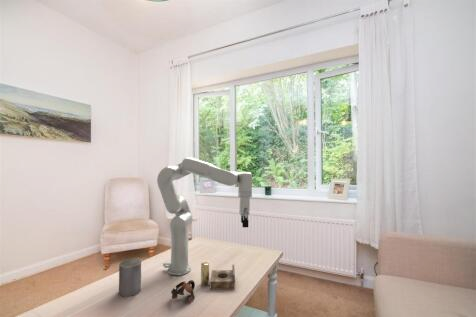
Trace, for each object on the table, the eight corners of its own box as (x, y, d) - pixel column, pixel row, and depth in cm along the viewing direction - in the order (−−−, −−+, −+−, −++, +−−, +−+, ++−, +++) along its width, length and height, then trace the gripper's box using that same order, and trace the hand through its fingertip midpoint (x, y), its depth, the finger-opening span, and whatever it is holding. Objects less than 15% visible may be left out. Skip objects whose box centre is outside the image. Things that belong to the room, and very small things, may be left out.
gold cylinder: (200, 285, 117) (200, 265, 117) (201, 281, 121) (201, 262, 121) (208, 285, 117) (208, 265, 118) (209, 281, 121) (209, 262, 121)
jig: (210, 288, 114) (210, 275, 114) (211, 276, 126) (212, 264, 126) (234, 288, 115) (234, 275, 115) (234, 276, 127) (234, 264, 127)
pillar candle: (119, 288, 115) (119, 257, 115) (141, 284, 118) (141, 254, 118) (117, 299, 106) (118, 265, 106) (141, 294, 109) (141, 262, 110)
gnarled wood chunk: (188, 308, 100) (178, 292, 100) (174, 311, 104) (164, 295, 104) (203, 288, 110) (194, 273, 110) (190, 291, 115) (181, 277, 115)
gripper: (237, 192, 140) (237, 221, 140) (239, 196, 123) (238, 229, 122) (250, 192, 140) (249, 221, 140) (253, 196, 123) (253, 229, 123)
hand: (244, 224), depth 131 cm, fingers open, 9 cm apart
